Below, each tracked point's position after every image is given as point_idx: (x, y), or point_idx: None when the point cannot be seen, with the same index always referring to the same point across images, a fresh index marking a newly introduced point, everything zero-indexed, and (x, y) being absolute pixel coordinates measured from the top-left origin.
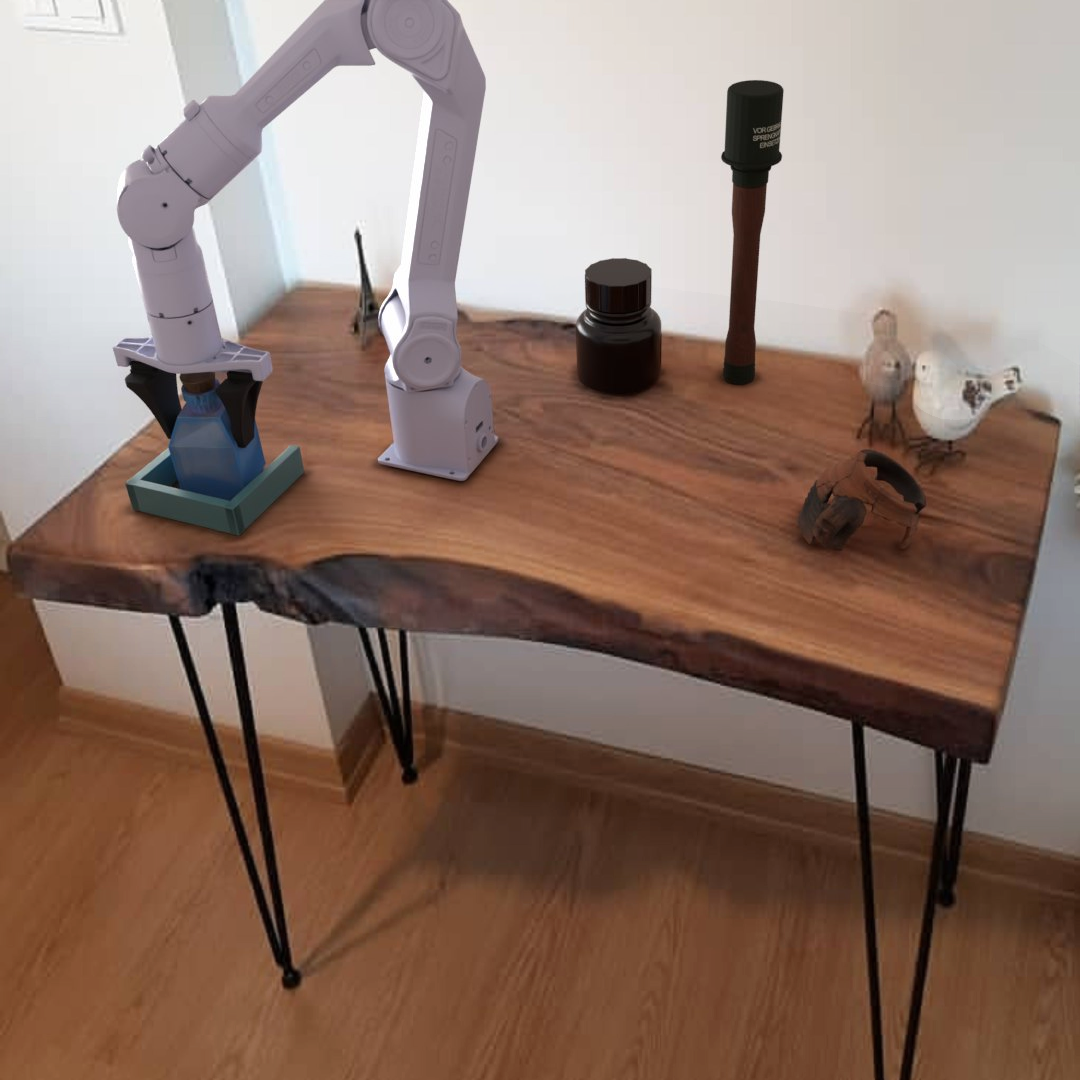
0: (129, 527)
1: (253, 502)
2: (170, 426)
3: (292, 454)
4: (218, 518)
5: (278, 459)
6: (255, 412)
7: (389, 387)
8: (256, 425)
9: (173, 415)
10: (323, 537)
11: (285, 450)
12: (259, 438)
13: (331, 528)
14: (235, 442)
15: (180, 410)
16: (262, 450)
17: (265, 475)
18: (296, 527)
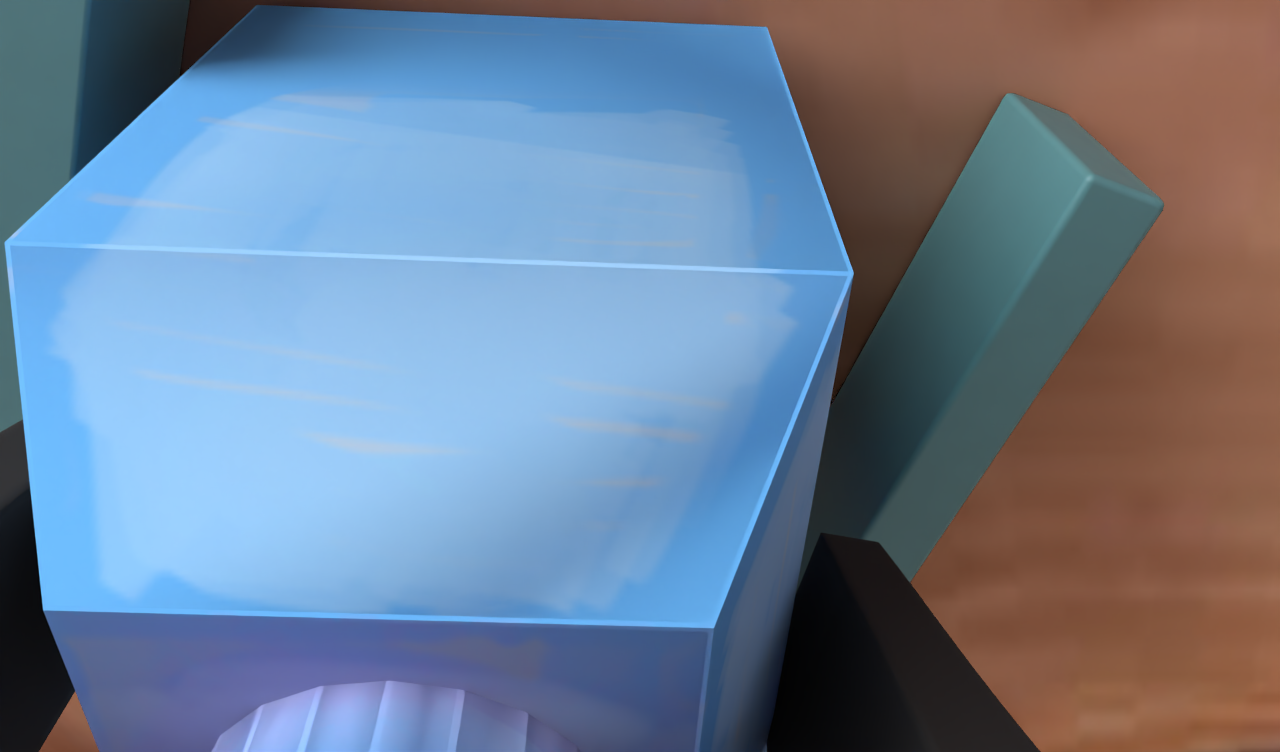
0: None
1: None
2: (56, 679)
3: (1097, 304)
4: None
5: (989, 385)
6: (1013, 721)
7: None
8: (820, 186)
9: (7, 666)
10: (1159, 668)
11: (1043, 268)
12: (796, 117)
13: (1205, 614)
14: (766, 746)
15: (5, 540)
16: (781, 70)
17: (908, 556)
18: (1024, 609)
